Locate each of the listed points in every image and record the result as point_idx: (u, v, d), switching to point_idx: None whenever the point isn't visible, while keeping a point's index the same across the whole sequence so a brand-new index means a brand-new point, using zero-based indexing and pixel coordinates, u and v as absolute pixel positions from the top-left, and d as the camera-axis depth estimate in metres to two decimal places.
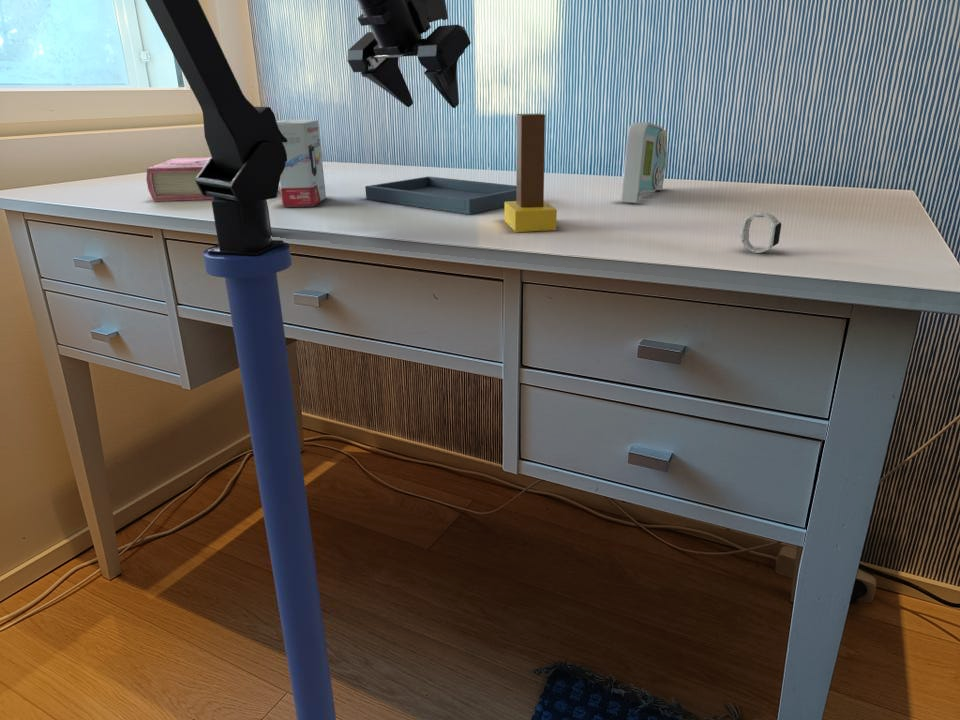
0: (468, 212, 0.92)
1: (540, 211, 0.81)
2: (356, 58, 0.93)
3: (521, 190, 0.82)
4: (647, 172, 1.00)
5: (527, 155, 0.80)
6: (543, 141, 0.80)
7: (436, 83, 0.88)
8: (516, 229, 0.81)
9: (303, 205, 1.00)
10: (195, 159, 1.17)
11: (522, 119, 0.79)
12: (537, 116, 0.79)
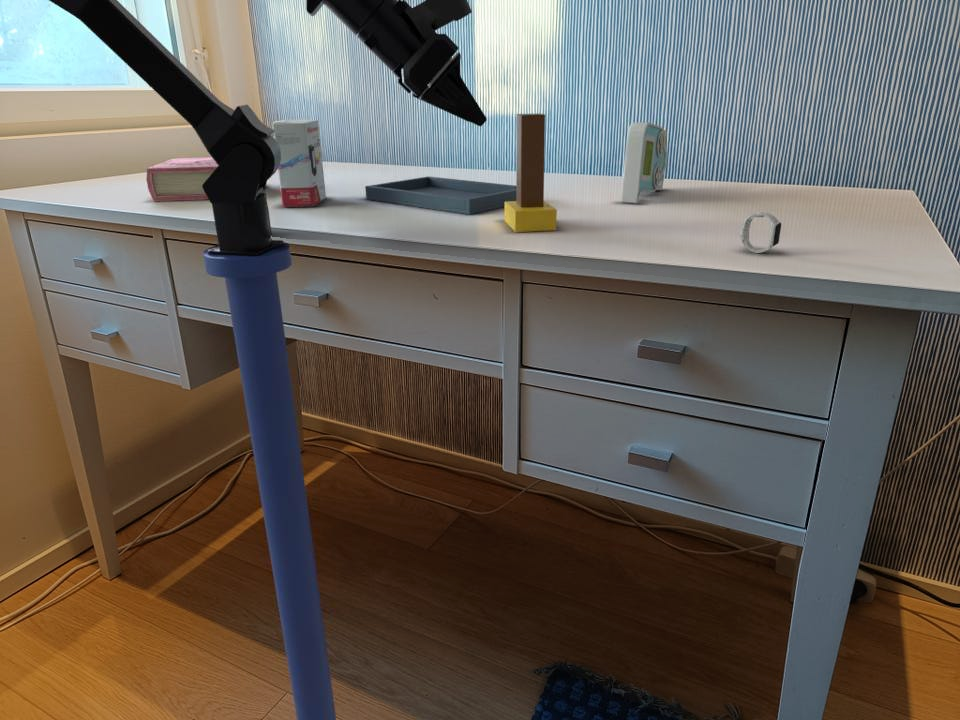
0: (468, 212, 0.92)
1: (540, 211, 0.81)
2: (397, 80, 0.83)
3: (521, 190, 0.82)
4: (647, 172, 1.00)
5: (527, 155, 0.80)
6: (543, 141, 0.80)
7: None
8: (516, 229, 0.81)
9: (303, 205, 1.00)
10: (195, 159, 1.17)
11: (522, 119, 0.79)
12: (537, 116, 0.79)
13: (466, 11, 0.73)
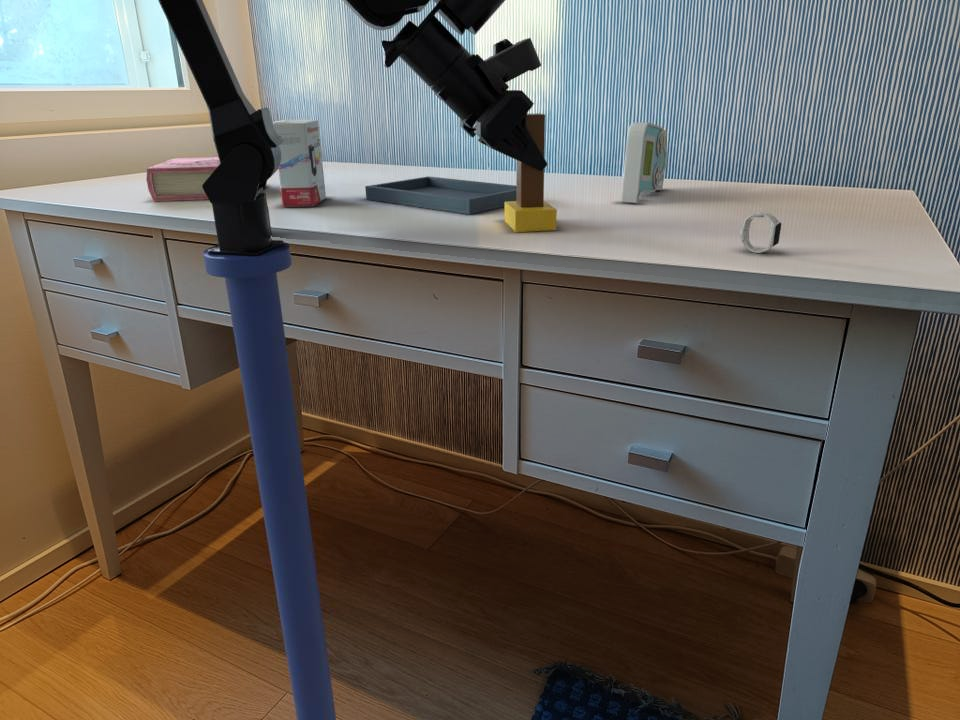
0: (468, 212, 0.92)
1: (540, 211, 0.81)
2: (462, 125, 0.86)
3: (521, 190, 0.82)
4: (647, 172, 1.00)
5: None
6: (543, 141, 0.80)
7: None
8: (516, 229, 0.81)
9: (303, 205, 1.00)
10: (195, 159, 1.17)
11: None
12: (537, 116, 0.79)
13: (536, 65, 0.76)
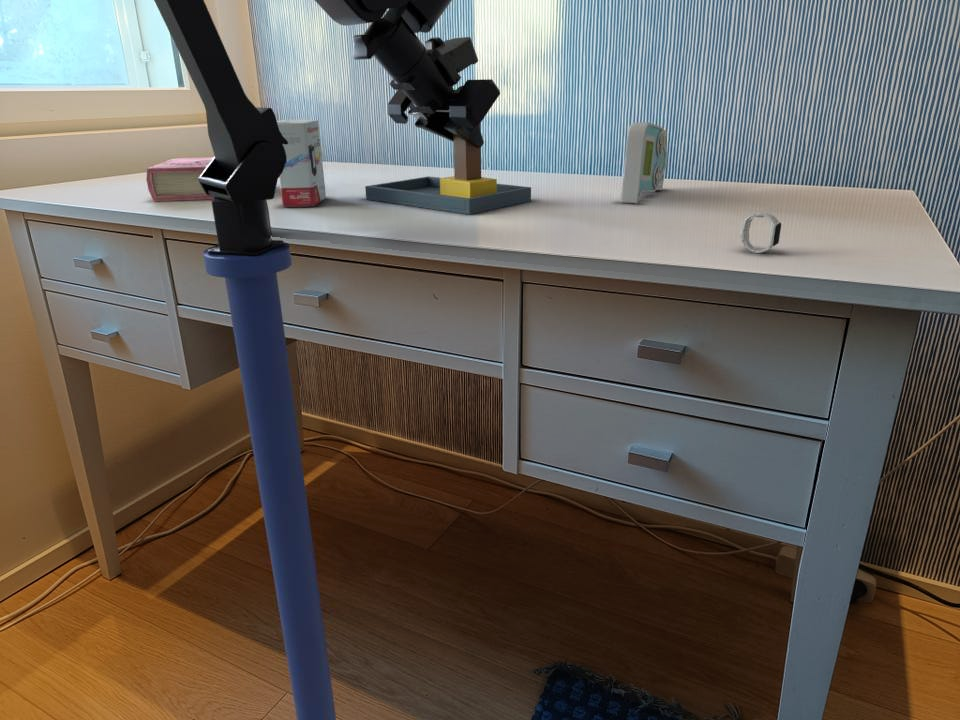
0: (468, 212, 0.92)
1: (486, 181, 0.97)
2: (395, 113, 0.96)
3: (466, 165, 0.97)
4: (647, 172, 1.00)
5: None
6: None
7: (457, 134, 0.93)
8: None
9: (303, 205, 1.00)
10: (195, 159, 1.17)
11: None
12: None
13: (476, 59, 0.92)
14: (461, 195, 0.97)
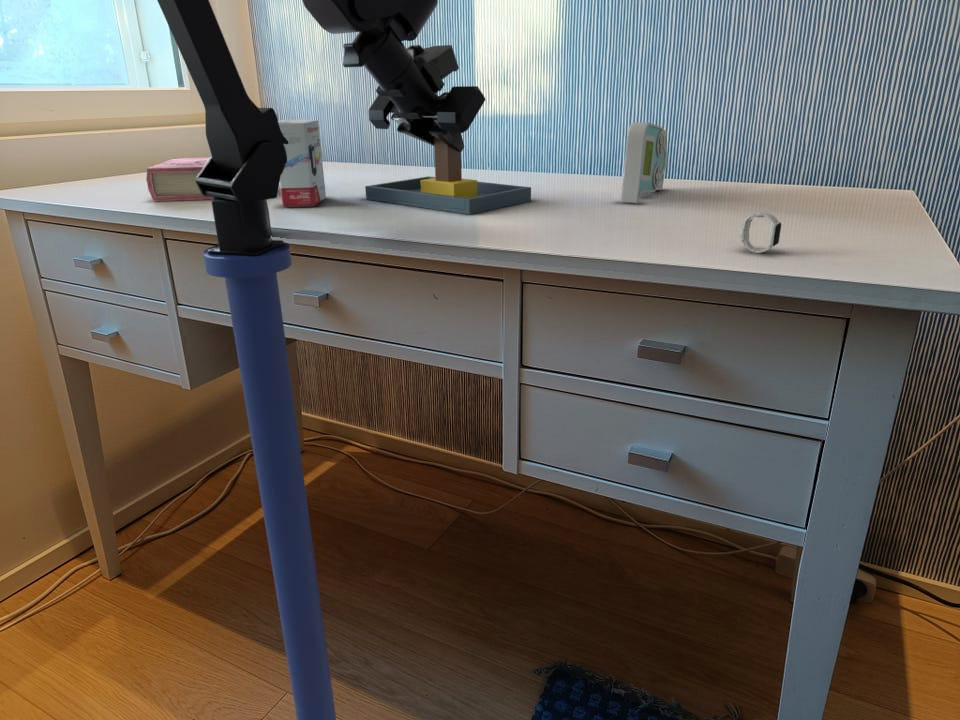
0: (468, 212, 0.92)
1: (468, 182, 1.00)
2: (377, 118, 0.98)
3: (448, 167, 1.00)
4: (647, 172, 1.00)
5: None
6: None
7: (442, 139, 0.96)
8: None
9: (303, 205, 1.00)
10: (195, 159, 1.17)
11: None
12: None
13: (457, 66, 0.95)
14: None
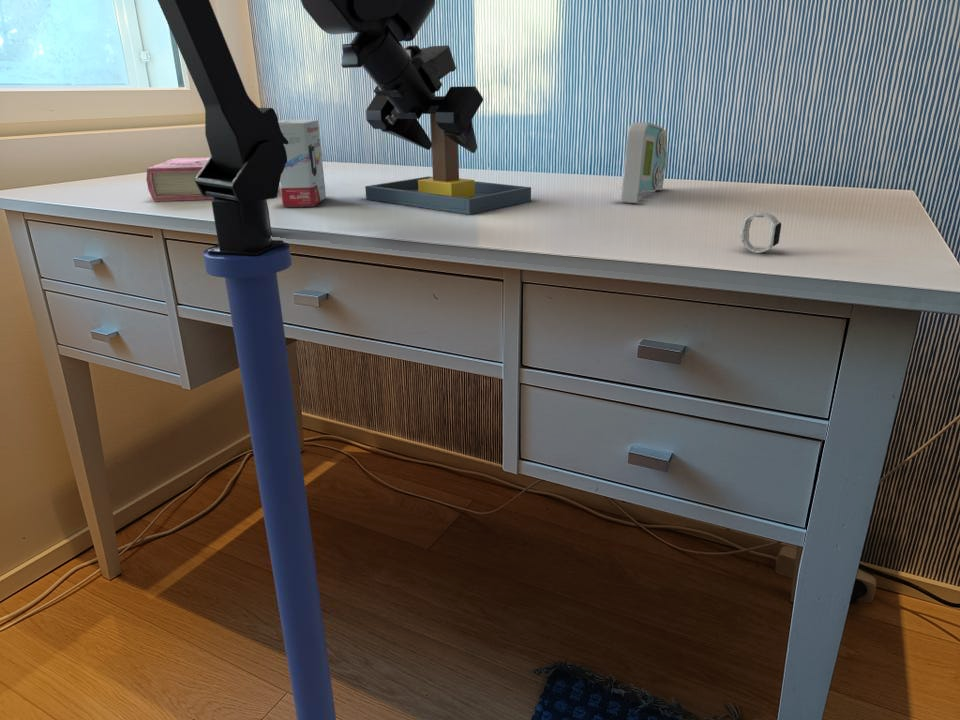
0: (468, 212, 0.92)
1: (465, 182, 1.01)
2: (375, 119, 0.98)
3: (445, 167, 1.00)
4: (647, 172, 1.00)
5: (448, 138, 0.99)
6: None
7: (455, 139, 0.94)
8: None
9: (303, 205, 1.00)
10: (195, 159, 1.16)
11: None
12: None
13: (455, 67, 0.95)
14: None
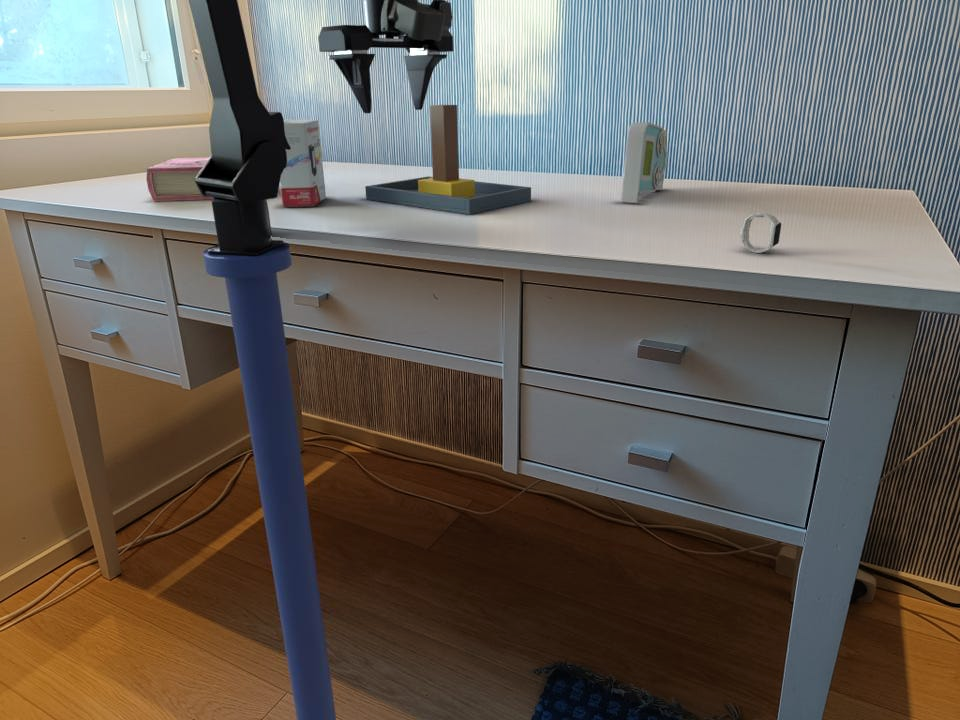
0: (468, 212, 0.92)
1: (465, 182, 1.01)
2: None
3: (445, 167, 1.00)
4: (647, 172, 1.00)
5: (448, 138, 0.99)
6: (457, 126, 1.00)
7: None
8: None
9: (303, 205, 1.00)
10: (195, 159, 1.16)
11: (444, 109, 0.97)
12: (452, 106, 0.98)
13: (413, 36, 0.83)
14: None
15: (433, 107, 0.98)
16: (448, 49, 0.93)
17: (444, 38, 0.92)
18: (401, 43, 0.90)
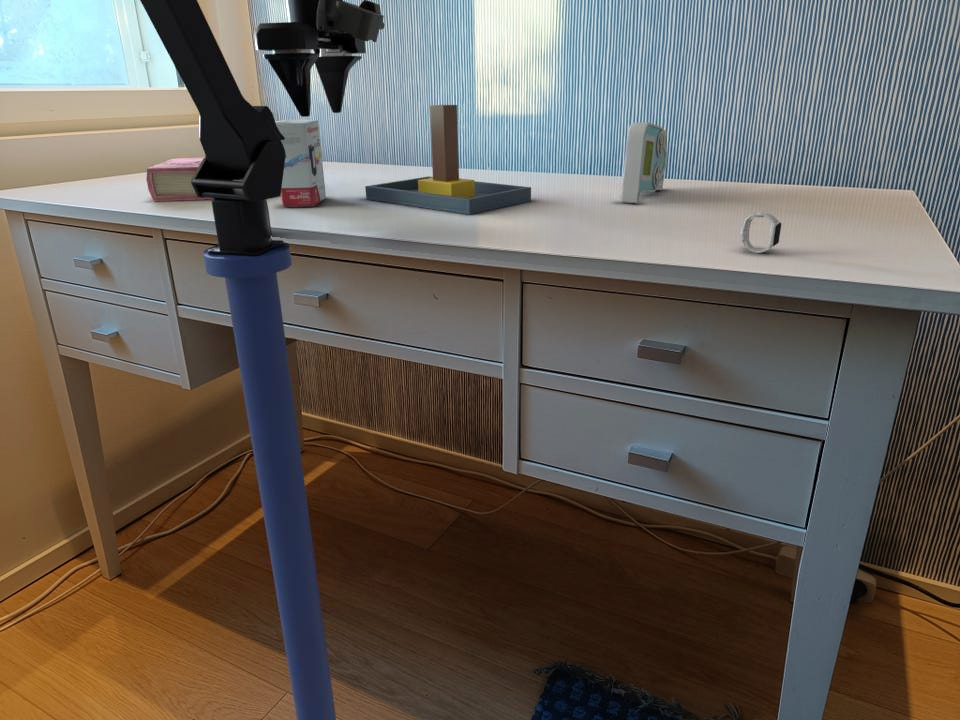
0: (468, 212, 0.92)
1: (465, 182, 1.01)
2: None
3: (445, 167, 1.00)
4: (647, 172, 1.00)
5: (448, 138, 0.99)
6: (457, 126, 1.00)
7: None
8: None
9: (303, 205, 1.00)
10: (195, 159, 1.16)
11: (444, 109, 0.97)
12: (452, 106, 0.98)
13: (359, 36, 0.81)
14: None
15: (433, 107, 0.98)
16: (362, 51, 0.91)
17: (360, 39, 0.90)
18: (324, 43, 0.86)
